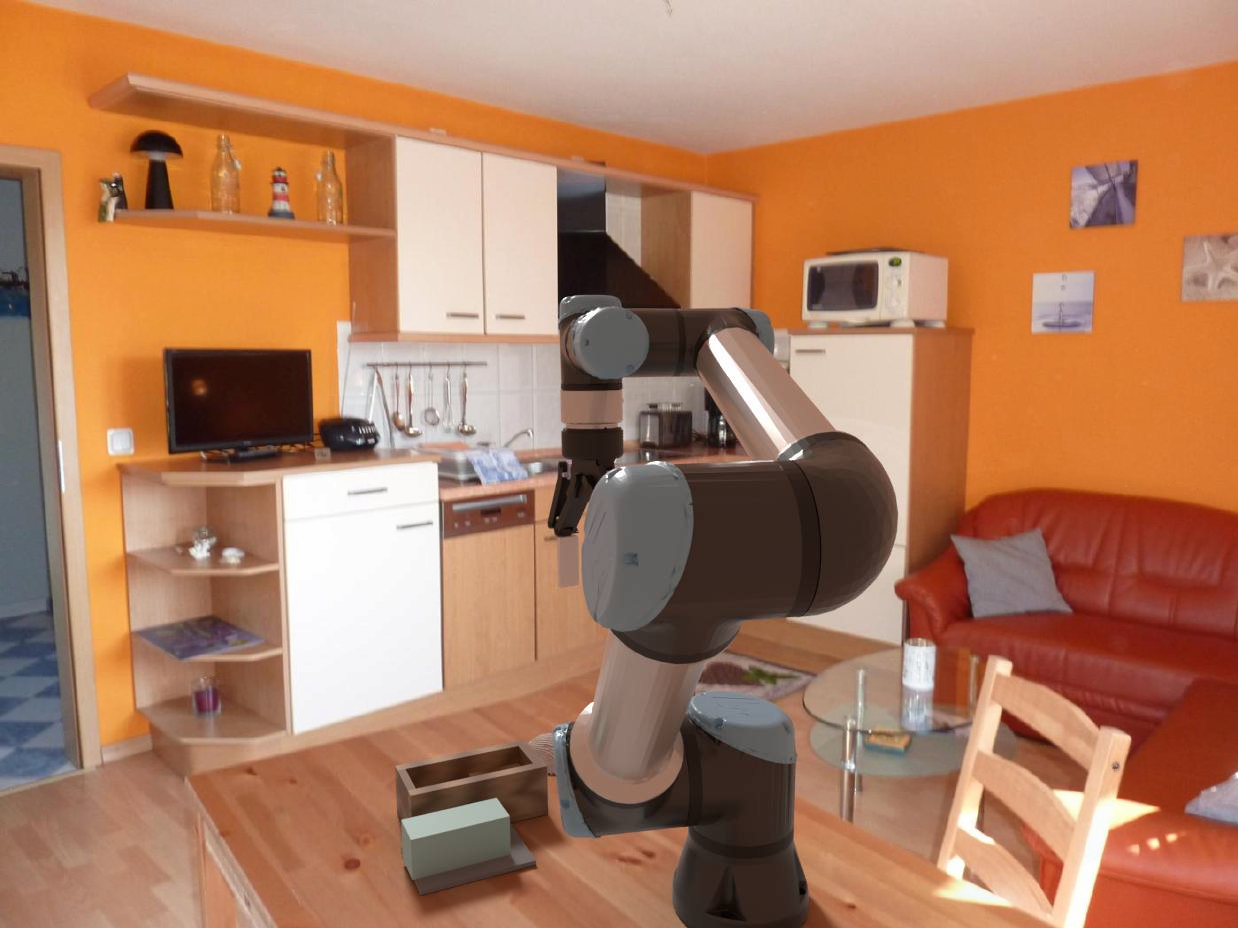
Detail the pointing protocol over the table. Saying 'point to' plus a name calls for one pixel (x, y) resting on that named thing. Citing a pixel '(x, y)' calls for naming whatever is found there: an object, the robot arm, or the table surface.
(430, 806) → the frame
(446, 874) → the mat
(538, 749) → the seashell
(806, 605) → the robot arm
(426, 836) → the part
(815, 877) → the table surface
